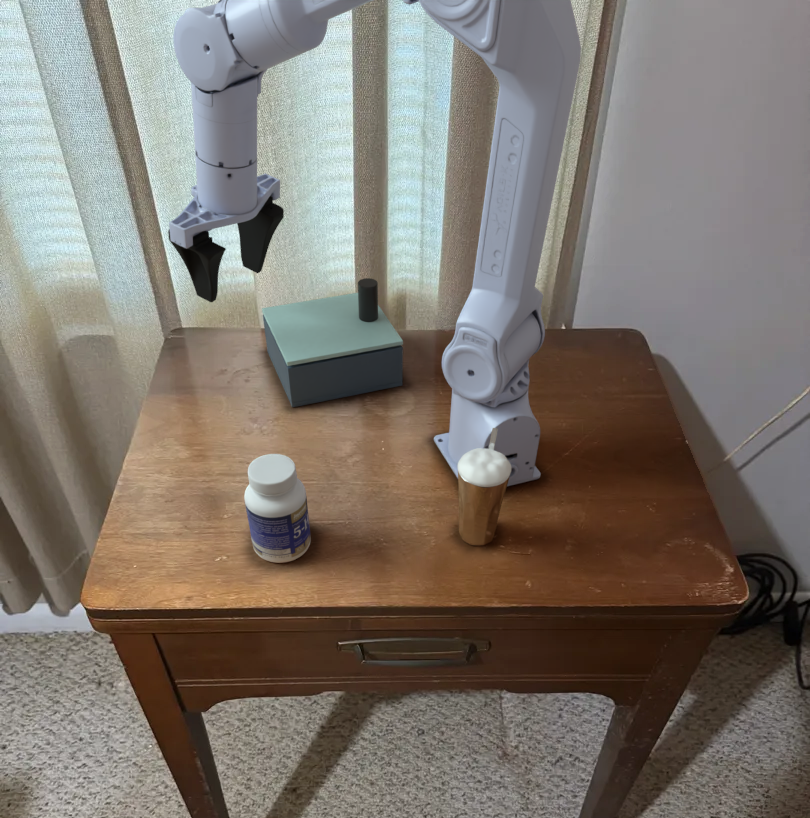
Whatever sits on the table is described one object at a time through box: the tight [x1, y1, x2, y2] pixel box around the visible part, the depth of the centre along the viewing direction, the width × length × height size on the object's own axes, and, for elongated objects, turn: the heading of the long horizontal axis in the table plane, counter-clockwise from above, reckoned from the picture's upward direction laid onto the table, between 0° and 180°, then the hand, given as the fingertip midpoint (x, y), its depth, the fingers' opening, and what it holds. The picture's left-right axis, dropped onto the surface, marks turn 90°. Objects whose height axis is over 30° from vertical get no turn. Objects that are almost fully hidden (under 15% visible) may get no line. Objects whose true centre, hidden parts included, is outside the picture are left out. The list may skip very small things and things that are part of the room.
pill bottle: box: [243, 453, 312, 564], centre depth 66 cm, size 5×5×9 cm
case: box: [262, 314, 404, 408], centre depth 87 cm, size 12×13×5 cm
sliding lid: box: [261, 277, 404, 366], centre depth 83 cm, size 12×13×5 cm
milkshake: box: [457, 428, 511, 547], centre depth 67 cm, size 4×5×10 cm
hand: (229, 282), depth 81 cm, fingers open, 7 cm apart
